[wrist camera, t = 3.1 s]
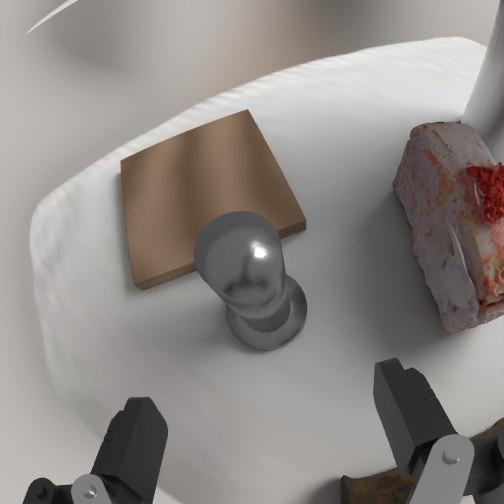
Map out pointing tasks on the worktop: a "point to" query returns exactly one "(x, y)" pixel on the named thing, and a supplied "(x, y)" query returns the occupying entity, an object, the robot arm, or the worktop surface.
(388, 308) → the worktop surface
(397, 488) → the hand tool
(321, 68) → the worktop surface
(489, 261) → the food item
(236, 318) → the round metal knob
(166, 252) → the walnut board
